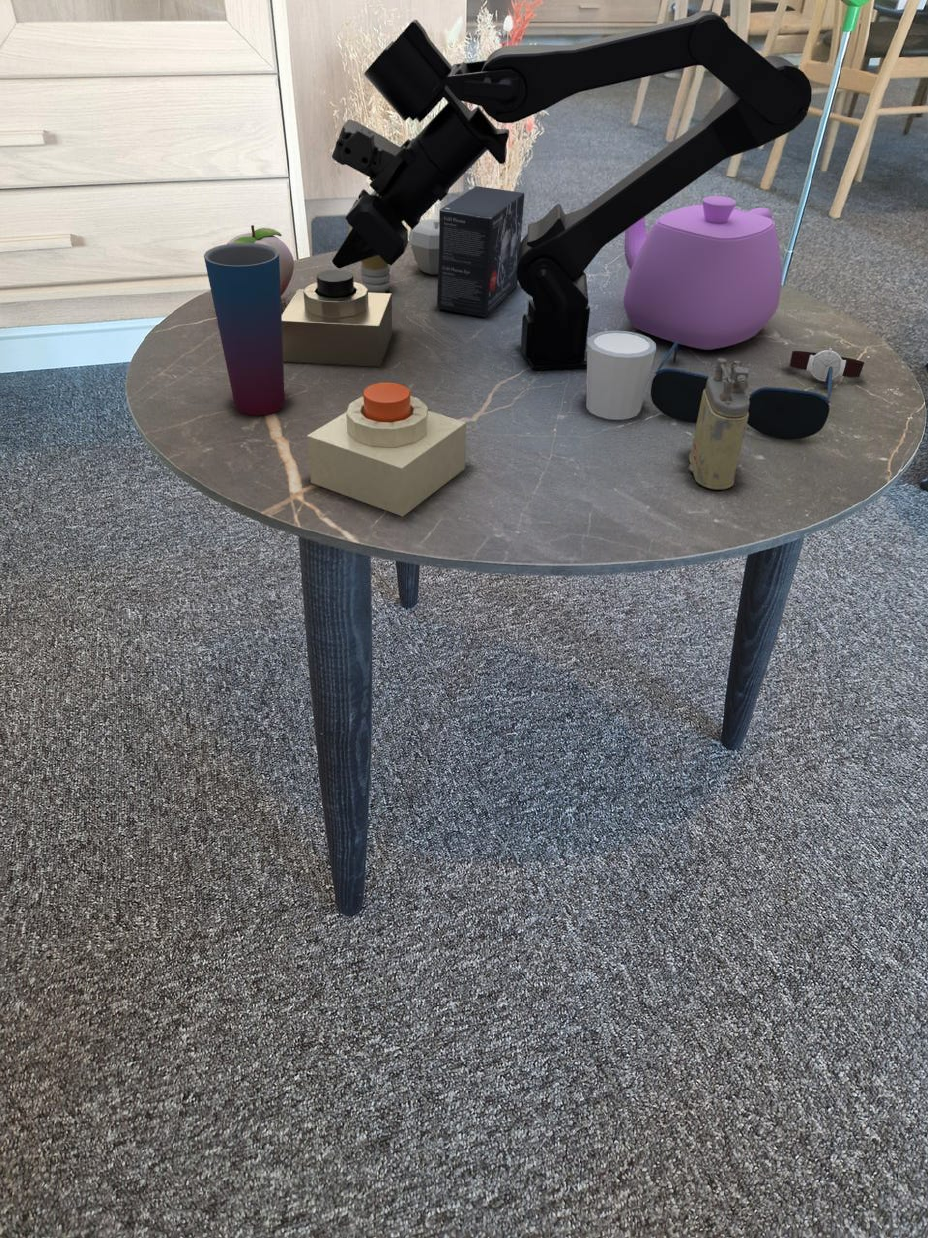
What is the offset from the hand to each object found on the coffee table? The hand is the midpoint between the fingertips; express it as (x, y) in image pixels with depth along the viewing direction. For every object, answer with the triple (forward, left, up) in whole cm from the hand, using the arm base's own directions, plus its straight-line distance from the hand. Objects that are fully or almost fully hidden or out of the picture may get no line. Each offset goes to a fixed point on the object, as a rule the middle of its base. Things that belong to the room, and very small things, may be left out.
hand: (335, 264), depth 101 cm
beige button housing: (-2, +30, -9) cm, 31 cm away
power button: (-2, +30, -3) cm, 30 cm away
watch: (-53, +14, -9) cm, 56 cm away
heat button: (0, 0, -3) cm, 3 cm away
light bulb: (-6, -18, -9) cm, 21 cm away
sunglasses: (-41, +19, -9) cm, 46 cm away
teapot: (-43, -1, -9) cm, 44 cm away
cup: (+9, +14, -9) cm, 19 cm away
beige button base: (0, 0, -9) cm, 9 cm away
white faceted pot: (-15, -25, -9) cm, 31 cm away
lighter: (-32, +33, -9) cm, 47 cm away
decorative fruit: (+9, -13, -9) cm, 19 cm away
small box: (-19, -14, -10) cm, 25 cm away
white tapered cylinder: (-27, +19, -9) cm, 34 cm away
